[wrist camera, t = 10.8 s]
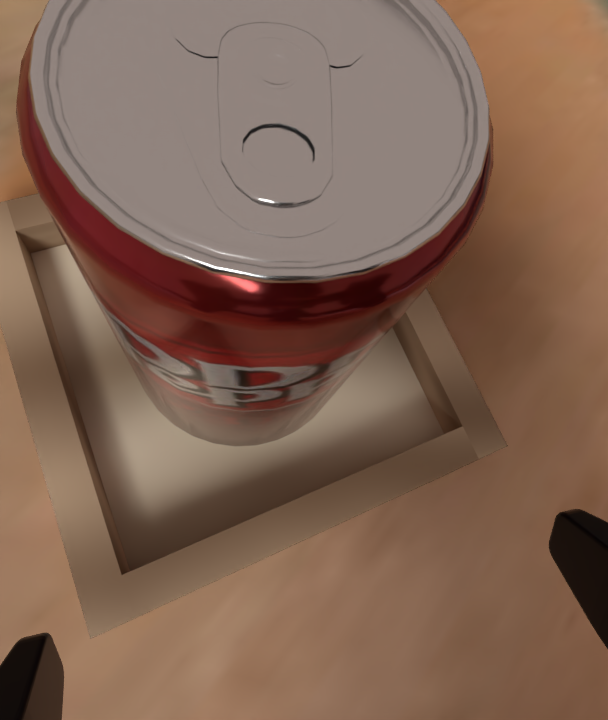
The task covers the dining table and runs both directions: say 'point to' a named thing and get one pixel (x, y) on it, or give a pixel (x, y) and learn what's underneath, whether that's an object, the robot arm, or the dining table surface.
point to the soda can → (254, 186)
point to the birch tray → (202, 458)
